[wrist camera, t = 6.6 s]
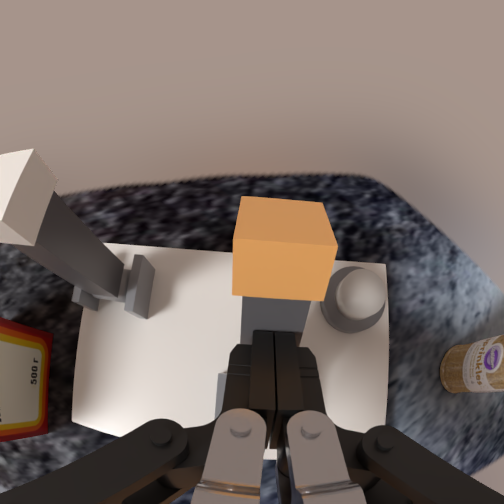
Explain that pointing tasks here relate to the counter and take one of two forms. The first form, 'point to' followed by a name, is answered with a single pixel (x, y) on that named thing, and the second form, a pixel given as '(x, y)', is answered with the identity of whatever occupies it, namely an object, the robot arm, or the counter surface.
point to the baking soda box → (23, 380)
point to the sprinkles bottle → (474, 367)
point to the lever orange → (280, 263)
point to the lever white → (54, 229)
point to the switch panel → (218, 343)
